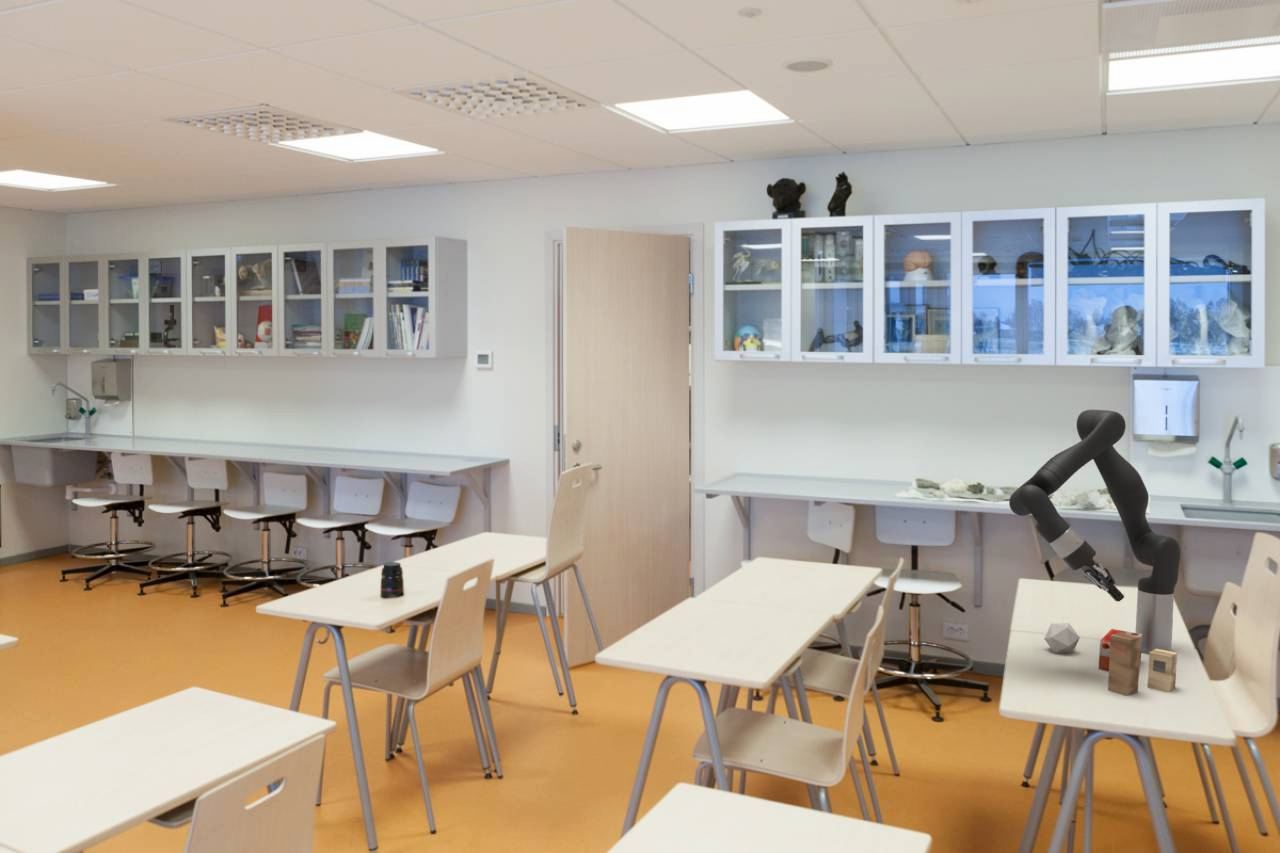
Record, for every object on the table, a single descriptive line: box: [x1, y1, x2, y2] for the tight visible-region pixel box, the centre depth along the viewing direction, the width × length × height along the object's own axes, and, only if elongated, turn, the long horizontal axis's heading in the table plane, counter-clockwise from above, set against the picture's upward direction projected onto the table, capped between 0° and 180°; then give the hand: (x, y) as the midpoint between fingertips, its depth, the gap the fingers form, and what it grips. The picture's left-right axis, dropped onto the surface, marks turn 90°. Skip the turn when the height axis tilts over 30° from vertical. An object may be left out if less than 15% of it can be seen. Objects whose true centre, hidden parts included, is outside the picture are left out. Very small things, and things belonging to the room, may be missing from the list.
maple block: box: [1147, 649, 1178, 693], centre depth 259 cm, size 5×5×9 cm
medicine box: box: [1098, 628, 1143, 672], centre depth 277 cm, size 15×8×8 cm, turn 144°
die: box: [1043, 622, 1081, 654], centre depth 289 cm, size 8×9×10 cm
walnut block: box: [1107, 632, 1141, 696], centre depth 256 cm, size 5×5×14 cm
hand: (1120, 599), depth 264 cm, fingers closed
